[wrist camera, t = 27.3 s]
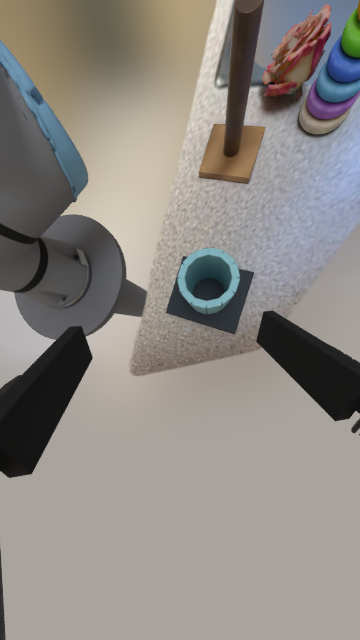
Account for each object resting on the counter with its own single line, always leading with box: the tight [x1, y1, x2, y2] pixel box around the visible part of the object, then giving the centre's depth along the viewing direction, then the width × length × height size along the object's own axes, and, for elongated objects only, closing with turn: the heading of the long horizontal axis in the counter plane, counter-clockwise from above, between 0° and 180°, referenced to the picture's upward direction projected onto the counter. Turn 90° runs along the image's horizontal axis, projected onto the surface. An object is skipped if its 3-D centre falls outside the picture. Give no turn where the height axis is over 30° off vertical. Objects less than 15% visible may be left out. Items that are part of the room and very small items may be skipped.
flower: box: [262, 4, 331, 99], centre depth 27 cm, size 10×9×8 cm
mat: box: [166, 256, 254, 334], centre depth 31 cm, size 14×12×1 cm
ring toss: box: [199, 0, 265, 183], centre depth 24 cm, size 10×10×16 cm
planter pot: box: [177, 248, 240, 314], centre depth 26 cm, size 8×8×10 cm
